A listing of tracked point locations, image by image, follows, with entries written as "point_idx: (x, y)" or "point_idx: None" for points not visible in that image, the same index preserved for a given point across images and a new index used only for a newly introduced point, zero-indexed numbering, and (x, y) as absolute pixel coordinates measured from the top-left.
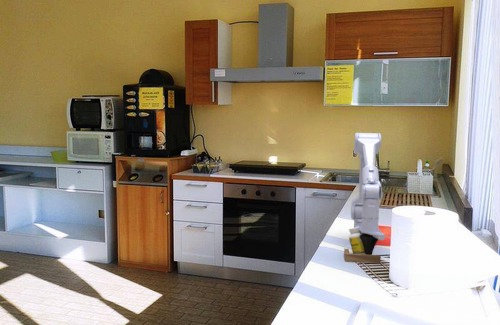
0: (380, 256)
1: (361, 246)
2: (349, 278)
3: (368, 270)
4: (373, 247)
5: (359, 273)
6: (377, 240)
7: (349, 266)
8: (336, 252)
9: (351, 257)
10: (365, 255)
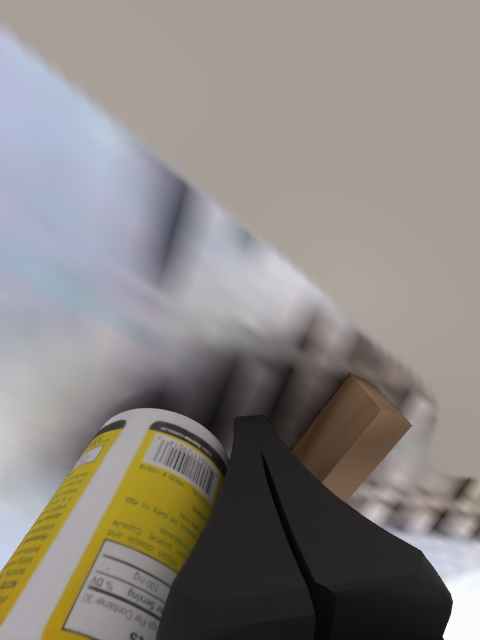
0: (409, 427)
1: None
2: (460, 619)
3: (433, 514)
4: (299, 471)
5: (439, 567)
6: (392, 543)
7: None
8: (5, 548)
9: None
10: None
